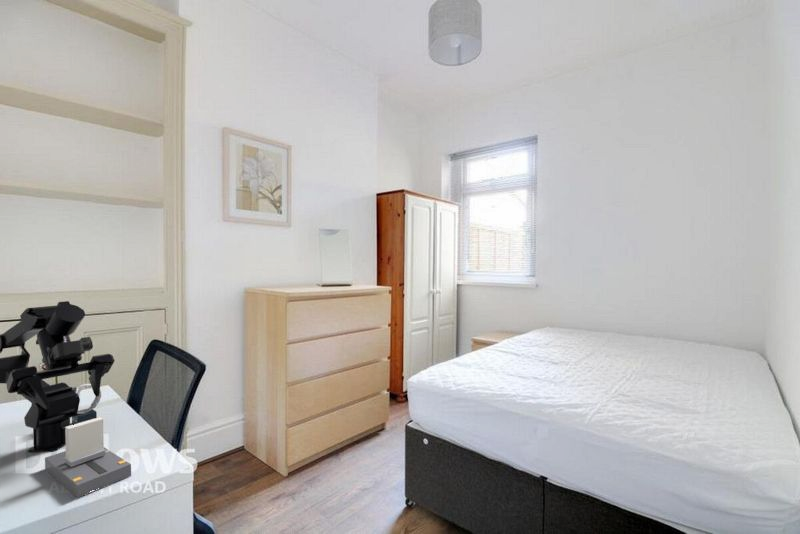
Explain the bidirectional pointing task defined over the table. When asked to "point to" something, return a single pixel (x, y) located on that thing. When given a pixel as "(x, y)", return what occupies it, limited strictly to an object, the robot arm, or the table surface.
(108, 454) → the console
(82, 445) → the fader
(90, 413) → the watch
